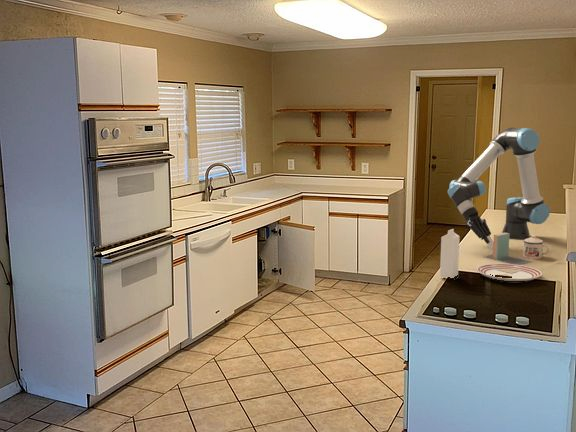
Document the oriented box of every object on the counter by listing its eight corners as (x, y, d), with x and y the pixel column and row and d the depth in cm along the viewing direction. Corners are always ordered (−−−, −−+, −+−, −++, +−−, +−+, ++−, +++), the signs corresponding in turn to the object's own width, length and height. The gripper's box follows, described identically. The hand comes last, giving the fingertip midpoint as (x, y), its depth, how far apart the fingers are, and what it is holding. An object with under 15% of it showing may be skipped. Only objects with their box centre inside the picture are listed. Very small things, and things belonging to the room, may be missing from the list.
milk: (458, 277, 263) (460, 229, 259) (452, 280, 258) (454, 231, 254) (445, 275, 267) (447, 227, 263) (439, 278, 262) (441, 229, 258)
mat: (482, 258, 294) (482, 257, 294) (497, 255, 301) (497, 253, 301) (518, 267, 278) (518, 265, 278) (533, 263, 285) (533, 261, 285)
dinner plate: (471, 268, 278) (471, 261, 277) (531, 269, 275) (531, 262, 274) (483, 285, 251) (483, 278, 251) (550, 286, 248) (550, 279, 248)
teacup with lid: (521, 259, 292) (522, 236, 290) (524, 255, 300) (525, 232, 298) (547, 262, 286) (548, 238, 284) (549, 257, 294) (551, 235, 292)
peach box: (492, 258, 291) (493, 234, 289) (503, 255, 296) (505, 232, 294) (497, 259, 289) (498, 235, 287) (508, 256, 294) (509, 233, 292)
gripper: (472, 213, 312) (497, 250, 301) (455, 216, 305) (480, 253, 294) (480, 205, 306) (506, 242, 296) (464, 207, 299) (490, 245, 289)
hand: (493, 247), depth 295 cm, fingers closed
